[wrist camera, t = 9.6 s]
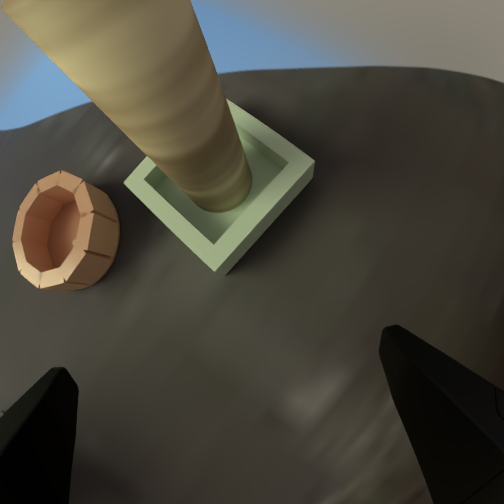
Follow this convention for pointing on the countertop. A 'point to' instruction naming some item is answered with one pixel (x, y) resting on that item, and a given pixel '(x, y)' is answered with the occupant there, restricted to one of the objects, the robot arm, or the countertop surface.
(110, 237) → the holder
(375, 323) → the countertop surface
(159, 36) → the dowel
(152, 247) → the countertop surface
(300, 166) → the tray
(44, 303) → the countertop surface
